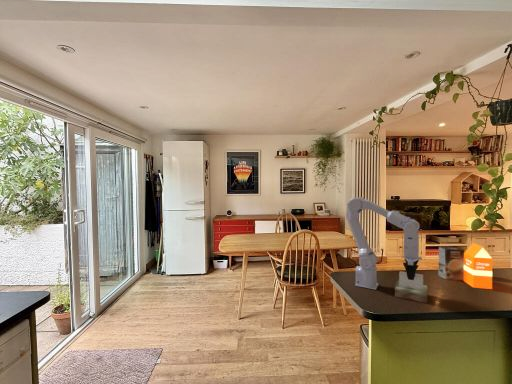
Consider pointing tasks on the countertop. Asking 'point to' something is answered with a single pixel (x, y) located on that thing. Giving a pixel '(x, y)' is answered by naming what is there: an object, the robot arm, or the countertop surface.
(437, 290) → the countertop surface
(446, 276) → the coffee box
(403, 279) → the housing
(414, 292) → the stand
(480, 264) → the orange juice
